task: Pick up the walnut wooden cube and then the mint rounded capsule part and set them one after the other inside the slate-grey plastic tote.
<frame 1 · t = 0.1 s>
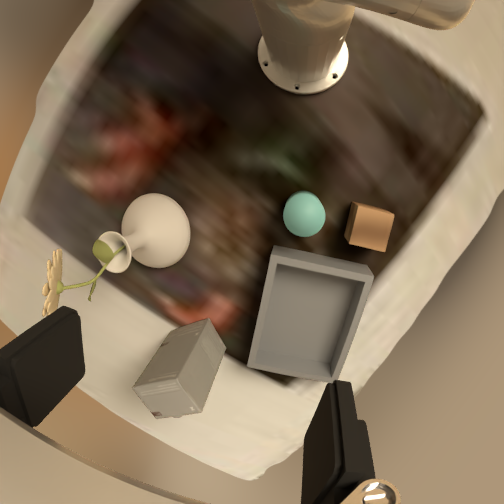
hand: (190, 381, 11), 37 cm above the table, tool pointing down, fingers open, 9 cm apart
walnut cube: (364, 222, 44), on the table
mint rounded capsule part: (303, 208, 45), on the table
skincare box: (198, 340, 53), on the table
flower in vase: (156, 232, 49), on the table
tote: (306, 310, 49), on the table
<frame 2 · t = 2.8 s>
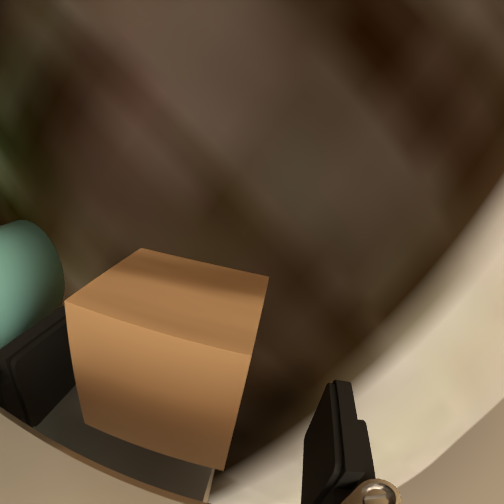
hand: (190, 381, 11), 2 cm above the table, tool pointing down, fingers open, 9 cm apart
walnut cube: (195, 319, 13), on the table
mint rounded capsule part: (29, 268, 13), on the table, touching gripper
tote: (114, 470, 18), on the table
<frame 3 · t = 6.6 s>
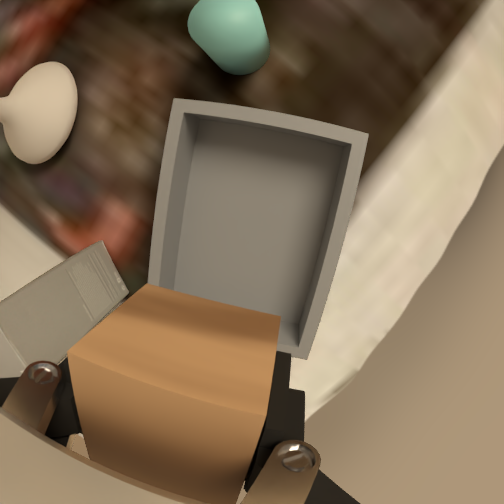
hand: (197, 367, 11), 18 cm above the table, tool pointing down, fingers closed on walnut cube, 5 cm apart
walnut cube: (203, 356, 12), point 17 cm above the table, touching gripper
mint rounded capsule part: (241, 49, 24), on the table
skincare box: (93, 281, 32), on the table
flower in vase: (46, 119, 28), on the table
tote: (253, 222, 28), on the table
when the fingers open (4 cm above the table, at t = 9.8 s): walnut cube drops 2 cm, resting on tote.
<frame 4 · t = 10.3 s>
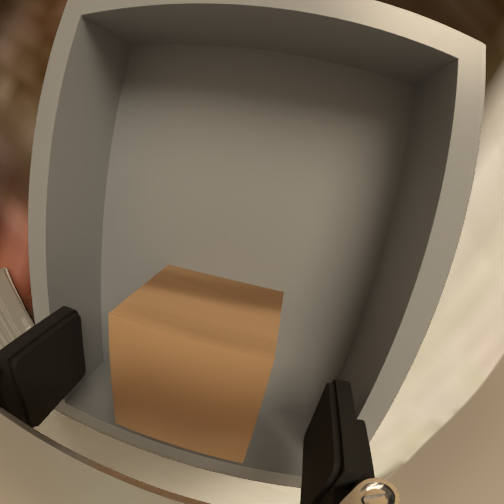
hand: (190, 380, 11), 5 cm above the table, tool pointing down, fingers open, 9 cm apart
walnut cube: (215, 329, 14), point 1 cm above the table, touching tote
skincare box: (8, 325, 18), on the table
tote: (234, 239, 14), on the table
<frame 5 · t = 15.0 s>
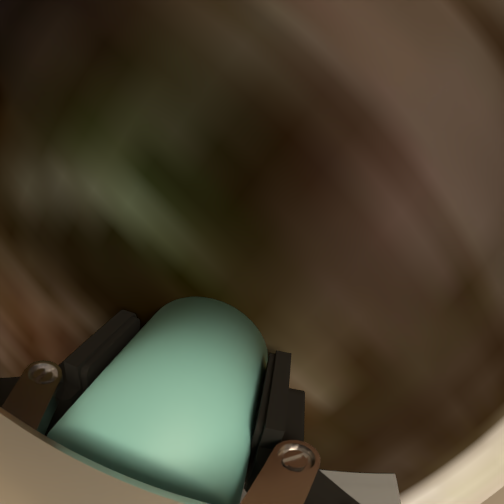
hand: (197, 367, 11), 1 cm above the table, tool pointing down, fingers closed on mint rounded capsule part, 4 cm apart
mint rounded capsule part: (204, 354, 12), on the table, touching gripper
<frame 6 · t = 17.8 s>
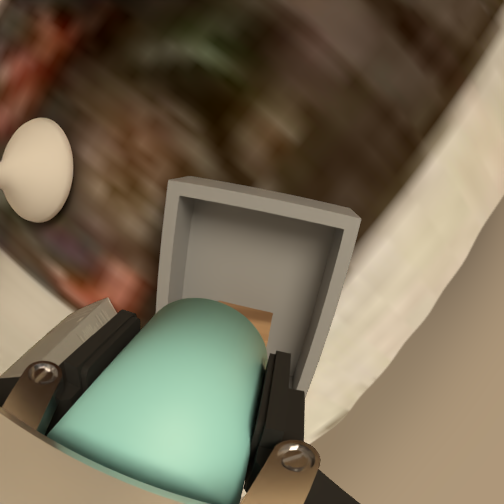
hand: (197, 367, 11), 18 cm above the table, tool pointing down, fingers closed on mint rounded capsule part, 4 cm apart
walnut cube: (241, 329, 30), point 1 cm above the table, touching tote
mint rounded capsule part: (204, 355, 12), point 17 cm above the table, touching gripper
skincare box: (101, 331, 34), on the table
flower in vase: (43, 175, 30), on the table
tote: (250, 288, 30), on the table
when the fingers open (3 cm above the table, at t = 20.9 s): mint rounded capsule part drops 1 cm, resting on tote.
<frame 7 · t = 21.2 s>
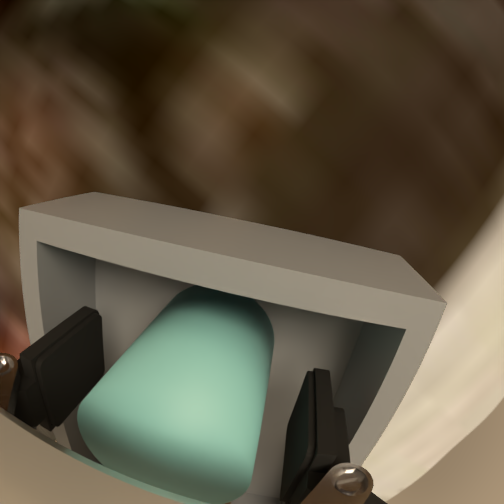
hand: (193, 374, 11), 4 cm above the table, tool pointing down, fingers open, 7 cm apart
mint rounded capsule part: (216, 337, 14), point 1 cm above the table, touching tote
tote: (208, 389, 16), on the table
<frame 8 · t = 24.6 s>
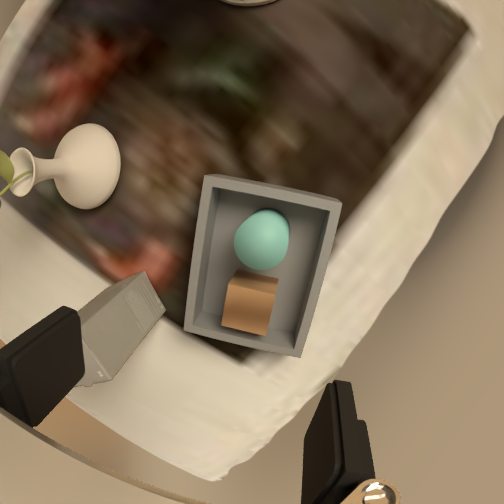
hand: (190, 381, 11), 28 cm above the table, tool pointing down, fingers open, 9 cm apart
walnut cube: (253, 293, 39), point 1 cm above the table, touching tote
mint rounded capsule part: (268, 229, 37), point 1 cm above the table, touching tote
skincare box: (135, 301, 43), on the table
flower in vase: (90, 170, 39), on the table
tote: (261, 260, 39), on the table
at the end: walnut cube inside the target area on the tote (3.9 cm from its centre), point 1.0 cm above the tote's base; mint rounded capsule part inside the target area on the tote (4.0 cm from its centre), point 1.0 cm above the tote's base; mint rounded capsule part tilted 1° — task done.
